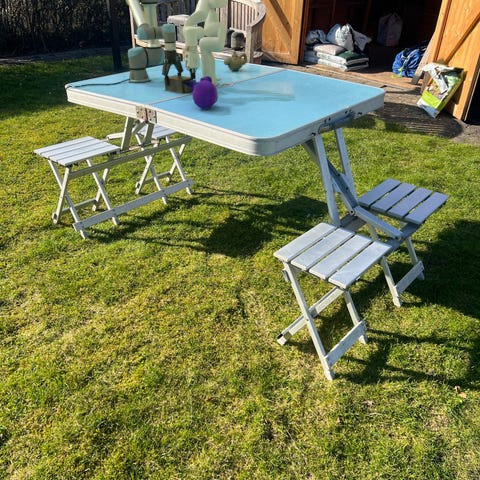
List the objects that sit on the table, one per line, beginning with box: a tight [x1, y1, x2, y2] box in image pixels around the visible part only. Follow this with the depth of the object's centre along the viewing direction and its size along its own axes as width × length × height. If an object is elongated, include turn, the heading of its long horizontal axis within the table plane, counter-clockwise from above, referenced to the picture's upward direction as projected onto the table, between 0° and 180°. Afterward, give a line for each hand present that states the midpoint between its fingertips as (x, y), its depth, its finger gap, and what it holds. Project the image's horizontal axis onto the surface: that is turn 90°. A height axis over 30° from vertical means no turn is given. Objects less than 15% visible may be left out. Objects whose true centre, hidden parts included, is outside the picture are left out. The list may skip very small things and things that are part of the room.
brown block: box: [163, 74, 194, 94], centre depth 307 cm, size 17×11×8 cm, turn 53°
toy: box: [181, 76, 219, 110], centre depth 265 cm, size 16×18×27 cm
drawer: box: [183, 79, 197, 93], centre depth 303 cm, size 21×10×6 cm, turn 53°
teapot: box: [223, 50, 248, 72], centre depth 366 cm, size 21×12×15 cm, turn 120°
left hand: (173, 84), depth 310 cm, fingers closed on brown block, 11 cm apart
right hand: (193, 78), depth 296 cm, fingers closed
